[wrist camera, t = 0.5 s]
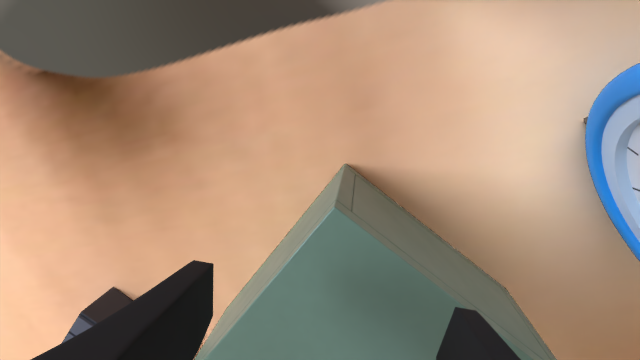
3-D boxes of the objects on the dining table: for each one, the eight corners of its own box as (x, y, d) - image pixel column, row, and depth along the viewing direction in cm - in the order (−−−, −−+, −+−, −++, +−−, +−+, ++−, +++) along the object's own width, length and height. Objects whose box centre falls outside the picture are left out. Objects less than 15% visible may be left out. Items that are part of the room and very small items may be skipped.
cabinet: (364, 409, 24) (364, 547, 17) (226, 308, 23) (163, 407, 16) (506, 288, 20) (586, 400, 13) (345, 162, 19) (333, 206, 12)
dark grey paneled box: (153, 359, 25) (122, 399, 22) (93, 317, 25) (52, 351, 22) (175, 330, 24) (145, 368, 21) (113, 286, 24) (73, 317, 21)
